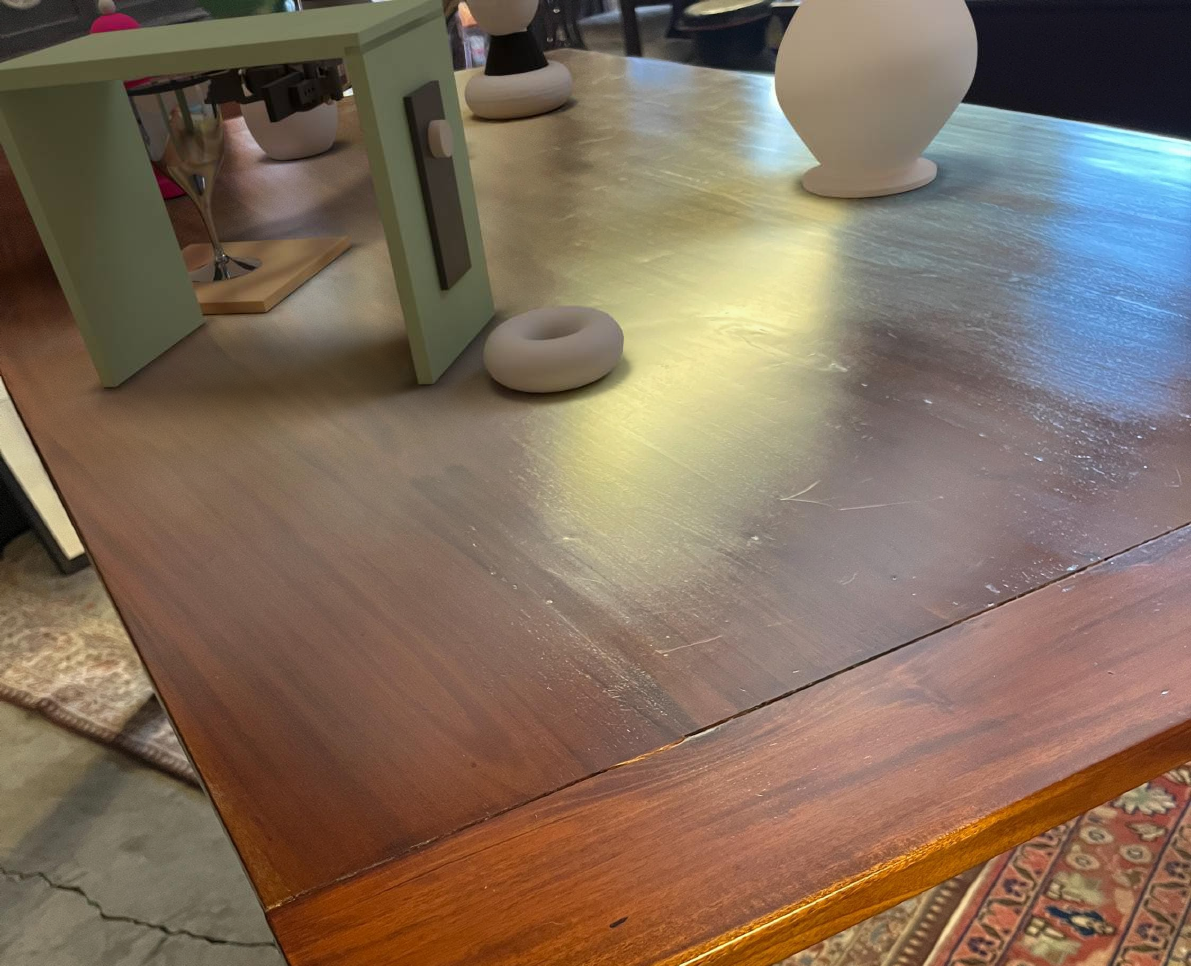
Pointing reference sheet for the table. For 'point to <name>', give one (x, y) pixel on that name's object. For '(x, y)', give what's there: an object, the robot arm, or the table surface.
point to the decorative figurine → (514, 65)
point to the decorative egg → (291, 130)
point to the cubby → (136, 207)
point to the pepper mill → (124, 22)
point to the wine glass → (188, 153)
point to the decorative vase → (873, 88)
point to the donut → (553, 348)
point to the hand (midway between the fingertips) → (202, 110)
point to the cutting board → (261, 271)
